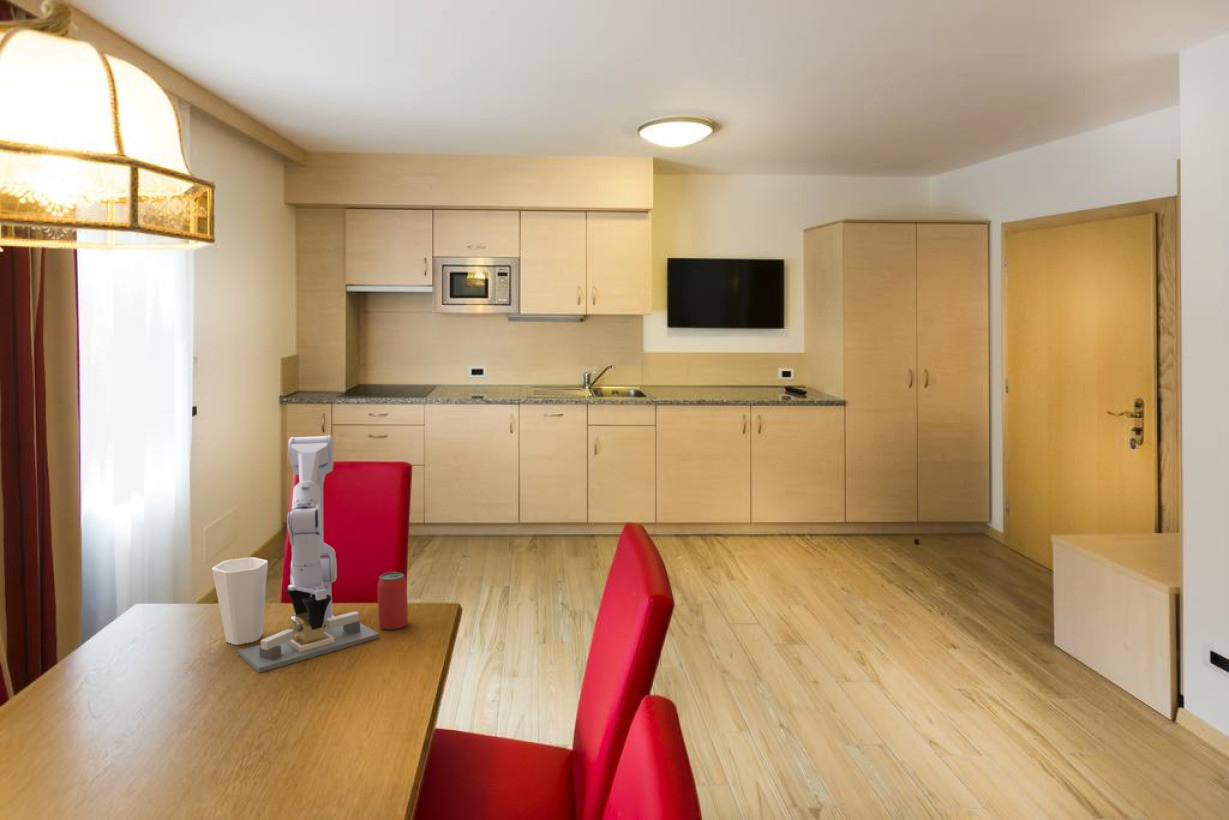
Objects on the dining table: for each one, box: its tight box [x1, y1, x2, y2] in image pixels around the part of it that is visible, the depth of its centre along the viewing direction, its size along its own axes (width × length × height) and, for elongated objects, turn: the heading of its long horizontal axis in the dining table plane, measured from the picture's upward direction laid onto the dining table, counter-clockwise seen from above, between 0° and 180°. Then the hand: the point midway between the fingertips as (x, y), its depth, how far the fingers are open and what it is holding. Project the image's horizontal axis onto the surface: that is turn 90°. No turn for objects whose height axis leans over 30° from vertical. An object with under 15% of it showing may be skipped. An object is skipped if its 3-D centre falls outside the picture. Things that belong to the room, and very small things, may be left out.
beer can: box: [377, 571, 409, 631], centre depth 186 cm, size 7×7×12 cm
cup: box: [211, 556, 269, 646], centre depth 178 cm, size 11×10×17 cm
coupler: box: [294, 612, 325, 646], centre depth 174 cm, size 4×6×6 cm
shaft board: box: [238, 610, 380, 673], centre depth 175 cm, size 12×26×5 cm, turn 133°
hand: (309, 623), depth 174 cm, fingers open, 7 cm apart
